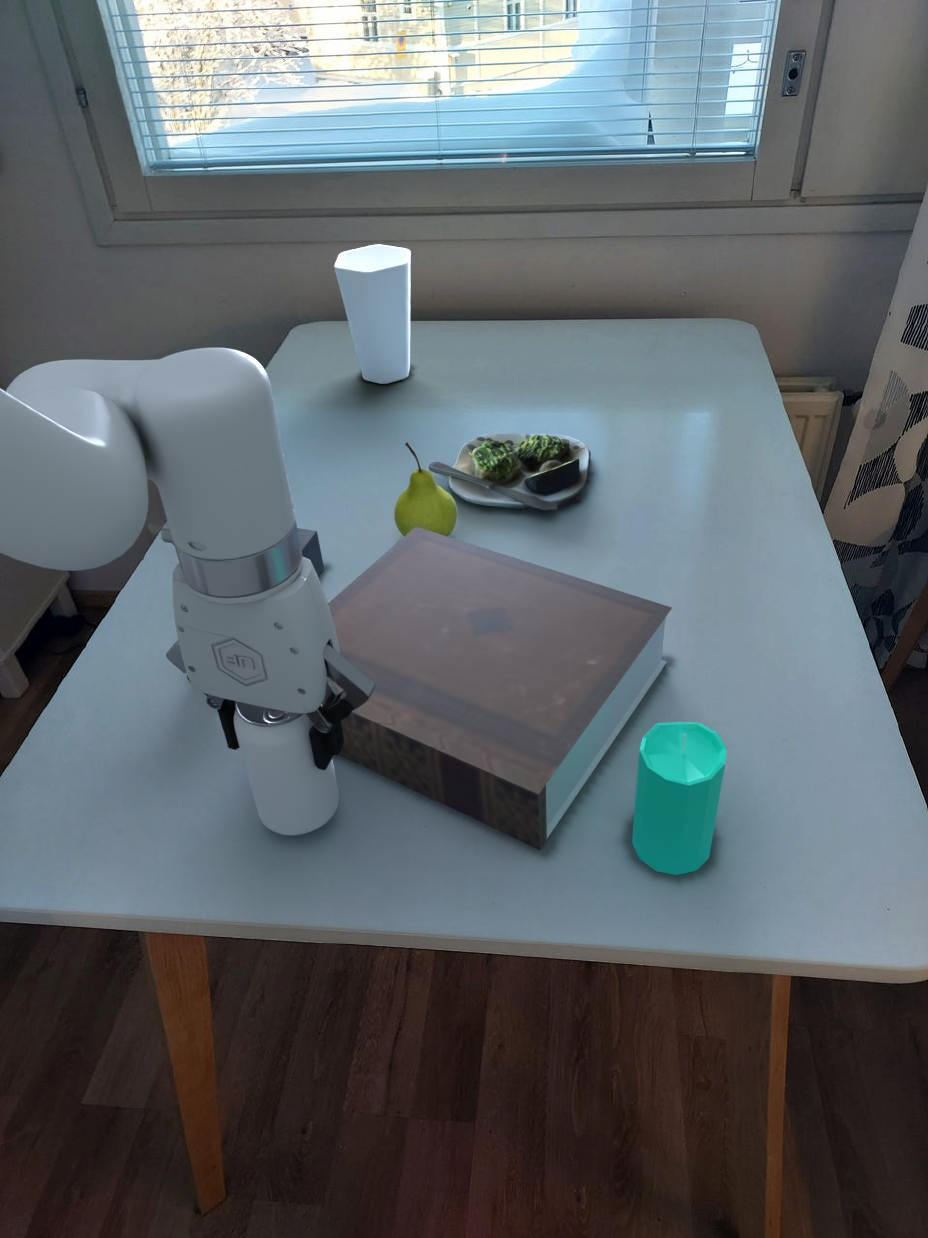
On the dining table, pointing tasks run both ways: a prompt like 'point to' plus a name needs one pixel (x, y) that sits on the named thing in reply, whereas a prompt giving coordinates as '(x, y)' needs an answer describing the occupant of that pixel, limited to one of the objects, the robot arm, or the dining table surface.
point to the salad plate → (519, 470)
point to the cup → (378, 308)
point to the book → (491, 677)
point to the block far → (311, 548)
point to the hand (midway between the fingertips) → (285, 744)
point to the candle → (677, 796)
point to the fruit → (425, 505)
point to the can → (284, 770)
